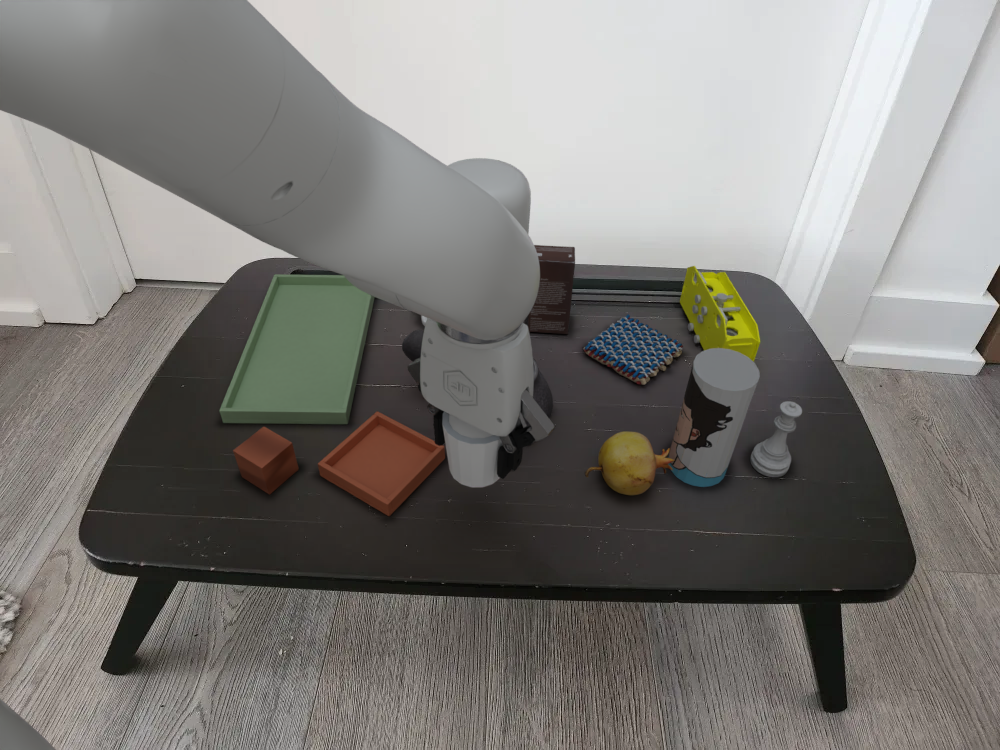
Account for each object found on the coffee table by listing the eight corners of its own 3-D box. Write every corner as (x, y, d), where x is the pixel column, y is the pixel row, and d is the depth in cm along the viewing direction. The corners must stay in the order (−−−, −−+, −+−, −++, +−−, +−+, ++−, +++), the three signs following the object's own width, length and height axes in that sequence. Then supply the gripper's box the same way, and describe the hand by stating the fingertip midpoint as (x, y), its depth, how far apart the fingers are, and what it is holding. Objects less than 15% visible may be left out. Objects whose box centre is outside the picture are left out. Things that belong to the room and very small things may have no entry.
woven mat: (686, 354, 100) (689, 342, 99) (641, 391, 94) (643, 379, 93) (624, 321, 105) (626, 310, 104) (579, 354, 99) (580, 343, 98)
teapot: (556, 370, 97) (562, 310, 90) (548, 455, 85) (554, 394, 79) (417, 357, 98) (413, 297, 92) (392, 439, 87) (384, 377, 80)
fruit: (593, 479, 75) (687, 472, 76) (583, 422, 79) (672, 415, 80) (585, 506, 81) (672, 499, 82) (576, 451, 85) (659, 445, 86)
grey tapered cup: (504, 497, 71) (507, 448, 67) (436, 487, 72) (434, 437, 67) (514, 447, 76) (517, 398, 72) (450, 438, 77) (450, 389, 73)
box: (568, 316, 106) (576, 245, 98) (568, 335, 102) (576, 263, 94) (527, 313, 106) (531, 242, 98) (525, 333, 103) (529, 260, 95)
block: (269, 494, 80) (261, 468, 77) (241, 477, 82) (232, 450, 79) (299, 469, 83) (292, 442, 80) (271, 452, 85) (263, 426, 82)
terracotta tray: (389, 516, 78) (387, 504, 77) (319, 475, 82) (317, 463, 81) (445, 458, 85) (444, 446, 83) (378, 423, 89) (377, 410, 87)
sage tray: (347, 424, 88) (345, 412, 87) (223, 423, 88) (218, 410, 87) (376, 287, 110) (375, 275, 109) (276, 285, 110) (274, 274, 109)
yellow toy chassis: (675, 306, 108) (686, 258, 103) (712, 304, 109) (724, 256, 103) (710, 377, 96) (724, 328, 91) (751, 374, 97) (768, 325, 91)
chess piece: (789, 456, 86) (816, 395, 79) (786, 482, 83) (813, 421, 76) (752, 445, 87) (775, 384, 81) (747, 471, 84) (770, 410, 78)
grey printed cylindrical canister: (707, 438, 88) (737, 343, 78) (737, 479, 83) (772, 383, 73) (657, 450, 86) (681, 354, 76) (685, 492, 82) (714, 396, 72)
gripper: (371, 294, 62) (386, 439, 74) (544, 370, 55) (530, 516, 67) (425, 257, 67) (431, 398, 79) (590, 323, 60) (570, 467, 72)
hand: (476, 451), depth 73 cm, fingers closed on grey tapered cup, 6 cm apart
